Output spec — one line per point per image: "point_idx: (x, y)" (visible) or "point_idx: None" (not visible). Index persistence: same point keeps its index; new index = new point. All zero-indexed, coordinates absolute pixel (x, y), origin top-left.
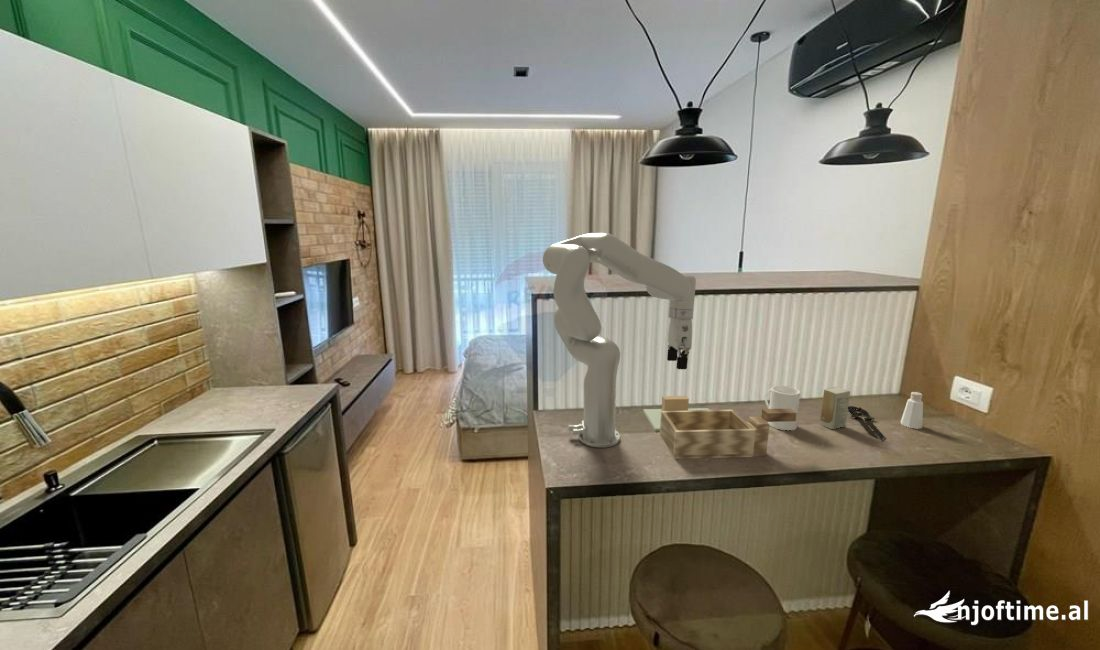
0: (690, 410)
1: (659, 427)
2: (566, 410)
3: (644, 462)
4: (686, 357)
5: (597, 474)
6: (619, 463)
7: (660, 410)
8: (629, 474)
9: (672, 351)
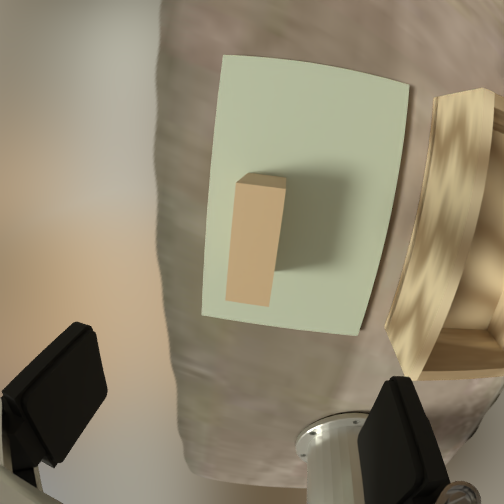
0: (449, 277)
1: (355, 321)
2: (186, 451)
3: (463, 386)
4: (455, 491)
5: (446, 444)
6: (442, 420)
7: (218, 262)
8: (474, 410)
9: (55, 431)
